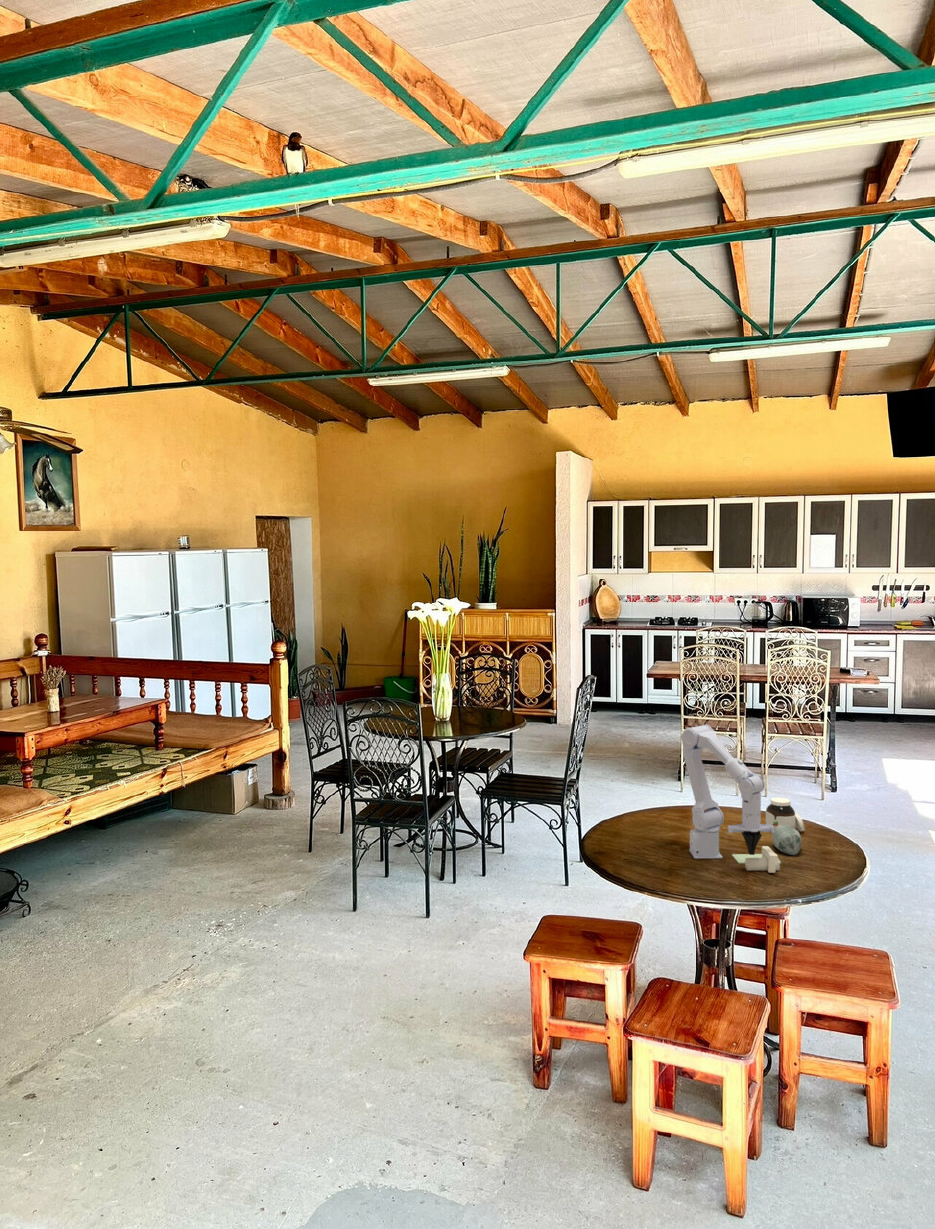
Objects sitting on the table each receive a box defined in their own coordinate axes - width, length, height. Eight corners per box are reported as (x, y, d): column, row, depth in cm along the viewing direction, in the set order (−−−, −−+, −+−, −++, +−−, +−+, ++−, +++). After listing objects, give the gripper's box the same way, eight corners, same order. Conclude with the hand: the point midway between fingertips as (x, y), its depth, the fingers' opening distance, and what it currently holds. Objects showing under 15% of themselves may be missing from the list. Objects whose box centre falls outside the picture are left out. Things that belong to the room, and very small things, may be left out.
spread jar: (762, 828, 324) (762, 798, 323) (783, 824, 329) (784, 793, 328) (787, 837, 313) (788, 806, 312) (809, 832, 318) (810, 801, 317)
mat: (738, 863, 288) (738, 862, 288) (731, 855, 296) (731, 854, 296) (781, 863, 288) (781, 862, 288) (773, 854, 296) (773, 853, 296)
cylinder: (748, 872, 281) (748, 860, 280) (744, 867, 285) (745, 856, 284) (779, 872, 280) (779, 860, 280) (775, 867, 284) (775, 855, 284)
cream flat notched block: (770, 874, 277) (770, 855, 277) (761, 864, 286) (761, 846, 286) (777, 874, 277) (777, 855, 277) (768, 864, 286) (768, 846, 286)
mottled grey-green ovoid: (809, 849, 291) (794, 821, 294) (783, 861, 293) (768, 833, 295) (804, 845, 304) (790, 819, 307) (779, 857, 306) (765, 830, 308)
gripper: (732, 816, 277) (732, 858, 278) (778, 816, 277) (777, 857, 278) (726, 810, 284) (726, 850, 285) (770, 809, 284) (770, 850, 285)
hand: (751, 853), depth 282 cm, fingers closed
